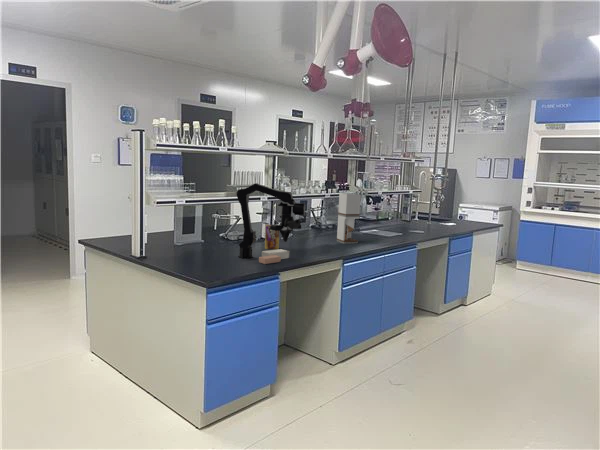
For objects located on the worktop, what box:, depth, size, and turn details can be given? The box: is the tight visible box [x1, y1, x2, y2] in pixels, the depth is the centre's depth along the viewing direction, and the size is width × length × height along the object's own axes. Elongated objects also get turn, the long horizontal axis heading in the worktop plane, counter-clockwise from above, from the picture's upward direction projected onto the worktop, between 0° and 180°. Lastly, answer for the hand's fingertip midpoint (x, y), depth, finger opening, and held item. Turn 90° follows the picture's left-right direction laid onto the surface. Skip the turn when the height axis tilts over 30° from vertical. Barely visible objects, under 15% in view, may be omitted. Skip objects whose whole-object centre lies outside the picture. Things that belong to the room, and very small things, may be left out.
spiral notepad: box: [261, 248, 290, 260], centre depth 257 cm, size 14×8×4 cm, turn 132°
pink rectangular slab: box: [258, 255, 282, 265], centre depth 245 cm, size 11×5×3 cm, turn 132°
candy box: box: [264, 224, 280, 250], centre depth 284 cm, size 9×4×15 cm, turn 96°
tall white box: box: [336, 192, 362, 245], centre depth 319 cm, size 11×11×35 cm
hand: (285, 241), depth 251 cm, fingers closed
